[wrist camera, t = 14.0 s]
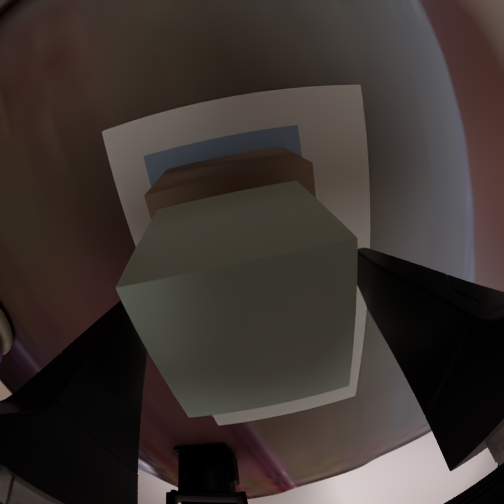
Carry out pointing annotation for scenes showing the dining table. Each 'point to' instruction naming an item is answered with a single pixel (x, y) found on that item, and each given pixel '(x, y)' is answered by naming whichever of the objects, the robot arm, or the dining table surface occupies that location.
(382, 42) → the dining table surface
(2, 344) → the stacking toy
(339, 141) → the build board
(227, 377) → the sage block
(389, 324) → the robot arm
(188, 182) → the walnut block
